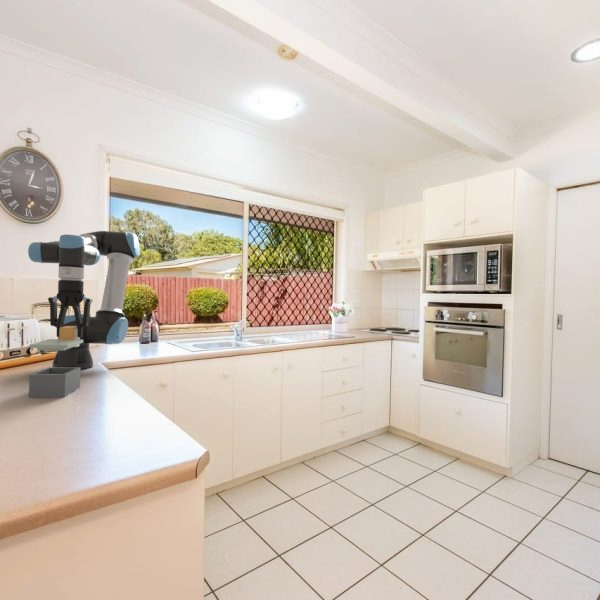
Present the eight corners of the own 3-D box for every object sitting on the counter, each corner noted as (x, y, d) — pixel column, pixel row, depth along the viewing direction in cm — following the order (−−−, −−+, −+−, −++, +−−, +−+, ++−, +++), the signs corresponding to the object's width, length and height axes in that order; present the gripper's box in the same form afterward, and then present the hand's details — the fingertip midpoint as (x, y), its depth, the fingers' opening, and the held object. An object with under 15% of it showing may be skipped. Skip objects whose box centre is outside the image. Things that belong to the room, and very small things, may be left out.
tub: (47, 387, 124) (48, 367, 124) (79, 387, 126) (80, 367, 126) (28, 397, 113) (29, 374, 113) (64, 397, 115) (65, 374, 115)
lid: (56, 342, 130) (56, 325, 130) (88, 343, 132) (89, 326, 132) (29, 351, 113) (29, 331, 112) (67, 351, 115) (67, 332, 115)
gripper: (38, 278, 123) (36, 347, 123) (93, 280, 126) (92, 348, 127) (49, 278, 130) (47, 344, 131) (101, 281, 133) (99, 345, 134)
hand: (69, 346), depth 129 cm, fingers closed on lid, 4 cm apart
